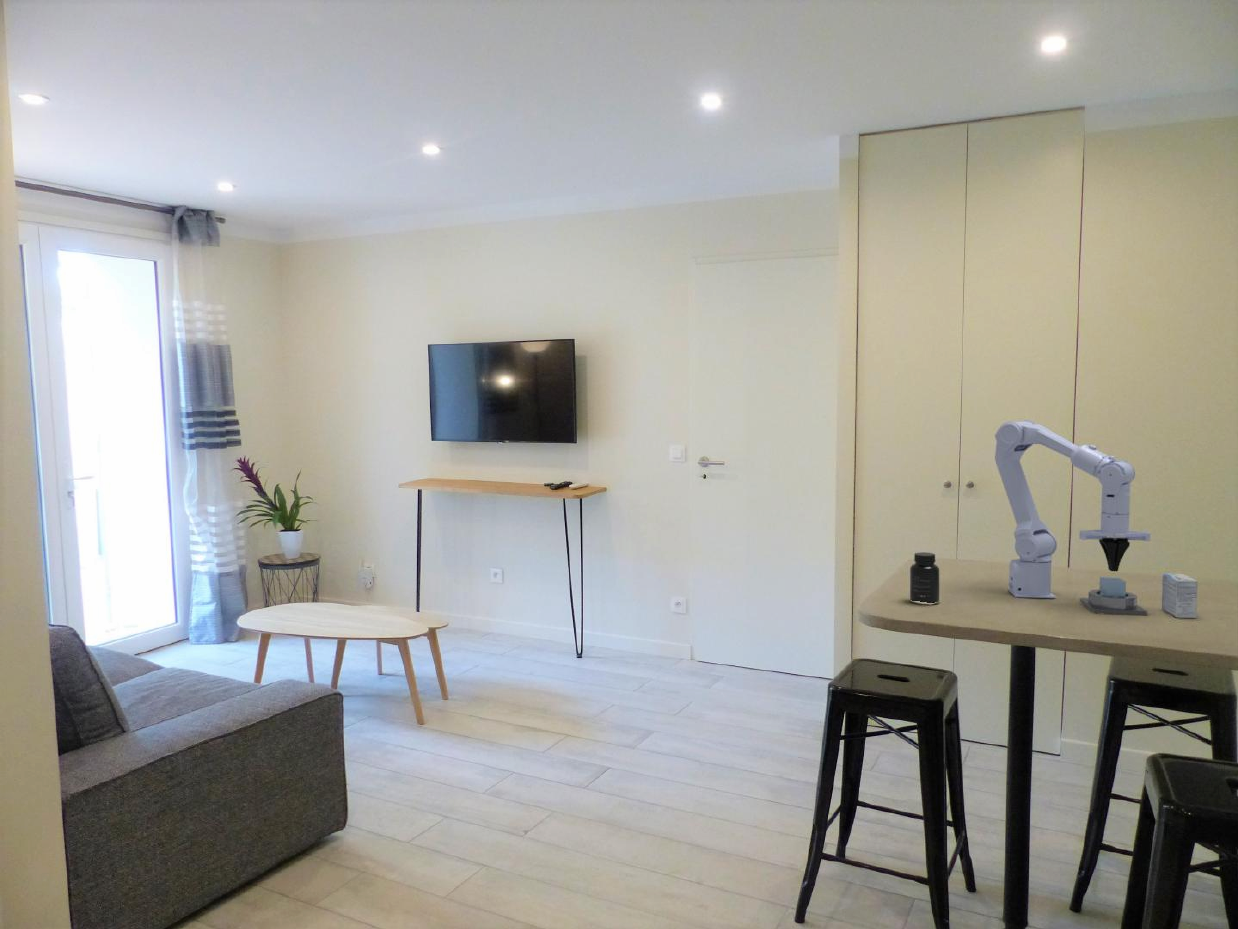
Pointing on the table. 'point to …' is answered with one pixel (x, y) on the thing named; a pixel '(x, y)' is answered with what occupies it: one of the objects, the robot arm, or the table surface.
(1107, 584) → the pale blue block
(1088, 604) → the square plate with ring
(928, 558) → the supplement bottle
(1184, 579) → the medicine box
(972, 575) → the table surface
